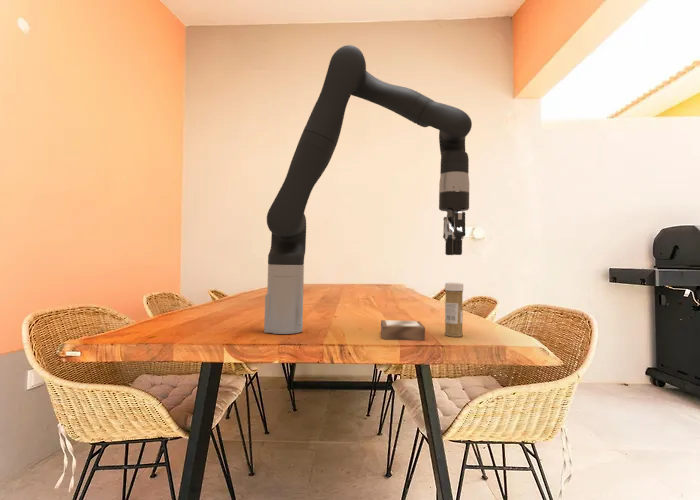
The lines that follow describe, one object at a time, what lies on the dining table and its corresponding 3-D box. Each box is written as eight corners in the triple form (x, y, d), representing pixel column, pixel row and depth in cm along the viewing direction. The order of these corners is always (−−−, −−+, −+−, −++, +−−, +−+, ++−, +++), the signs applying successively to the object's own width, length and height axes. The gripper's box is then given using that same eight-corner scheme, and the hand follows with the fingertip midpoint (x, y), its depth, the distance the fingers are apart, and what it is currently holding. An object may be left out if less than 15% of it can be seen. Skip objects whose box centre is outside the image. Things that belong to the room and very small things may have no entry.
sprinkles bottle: (466, 336, 104) (467, 283, 104) (454, 338, 101) (454, 283, 102) (452, 333, 108) (453, 282, 108) (440, 334, 105) (441, 282, 105)
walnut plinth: (382, 339, 98) (383, 325, 98) (380, 331, 108) (381, 319, 108) (424, 340, 98) (425, 326, 98) (419, 332, 108) (419, 320, 108)
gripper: (434, 196, 112) (433, 255, 112) (444, 186, 98) (444, 254, 98) (462, 196, 112) (461, 255, 112) (476, 187, 98) (475, 255, 98)
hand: (453, 255), depth 105 cm, fingers open, 8 cm apart
